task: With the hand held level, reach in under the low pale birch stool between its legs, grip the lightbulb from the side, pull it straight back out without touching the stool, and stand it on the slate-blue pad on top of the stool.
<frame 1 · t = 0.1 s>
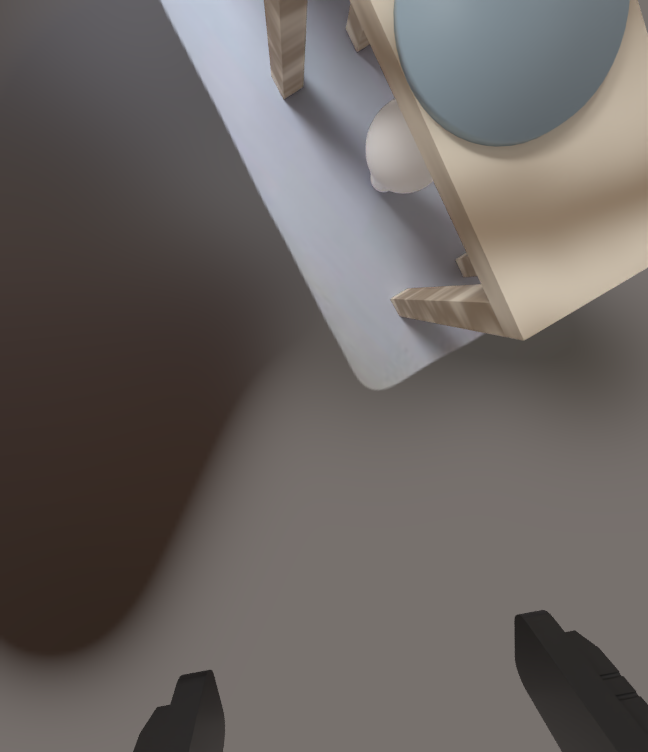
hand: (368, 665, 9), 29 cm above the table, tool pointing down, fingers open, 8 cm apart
stool: (381, 180, 34), on the table
lightbulb: (381, 180, 34), on the table
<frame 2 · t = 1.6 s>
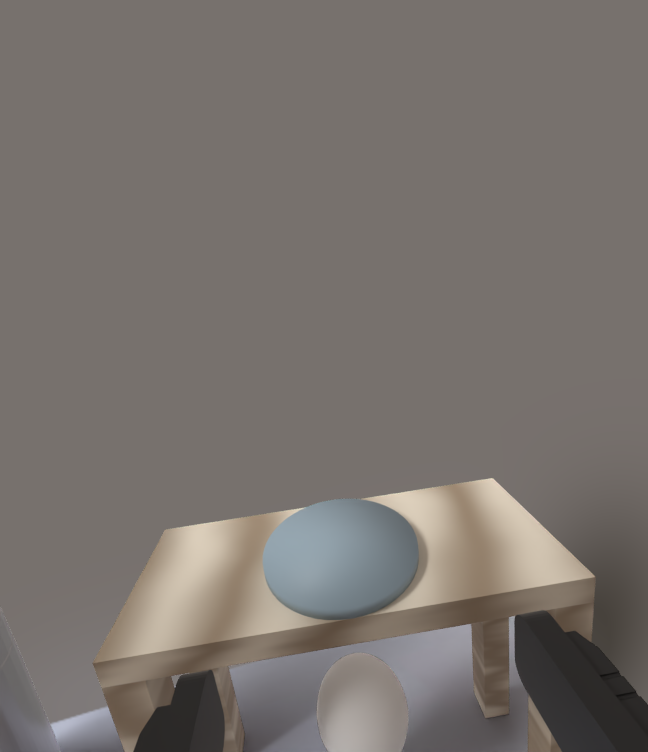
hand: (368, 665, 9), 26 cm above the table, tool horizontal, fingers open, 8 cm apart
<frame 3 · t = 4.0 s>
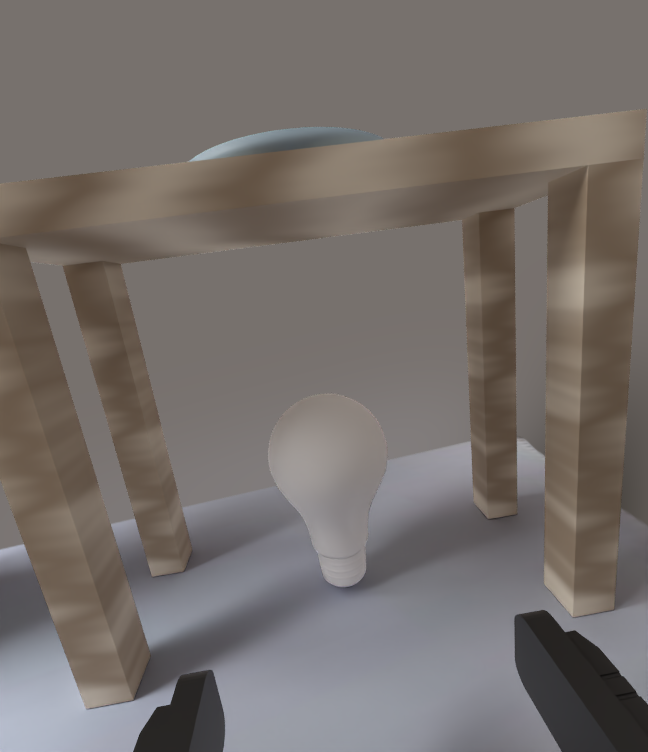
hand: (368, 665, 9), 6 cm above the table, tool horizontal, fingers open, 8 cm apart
stool: (345, 580, 21), on the table
lightbulb: (346, 583, 21), on the table
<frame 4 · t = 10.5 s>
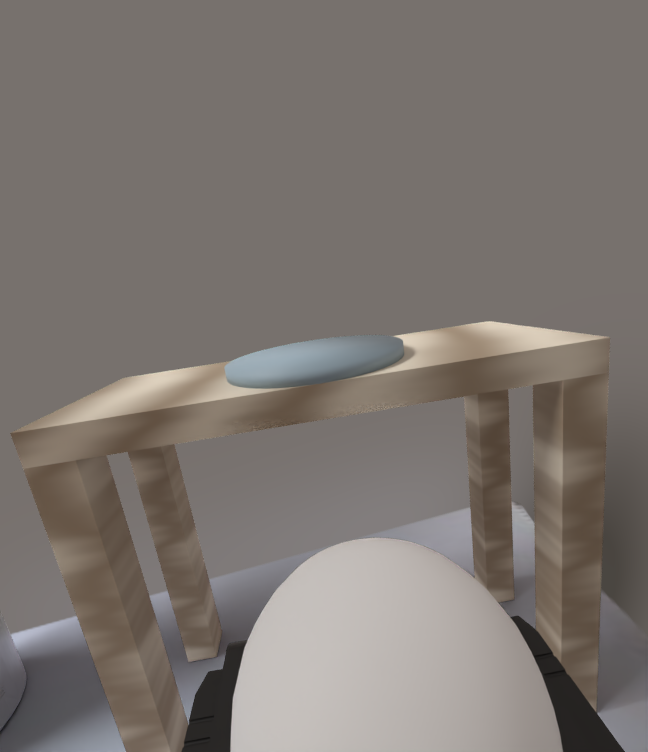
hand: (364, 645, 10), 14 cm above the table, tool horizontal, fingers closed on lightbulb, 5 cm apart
stool: (362, 672, 23), on the table
when the fingers open (29 cm above the table, at t = 14.2 s): lightbulb drops 1 cm, resting on stool.
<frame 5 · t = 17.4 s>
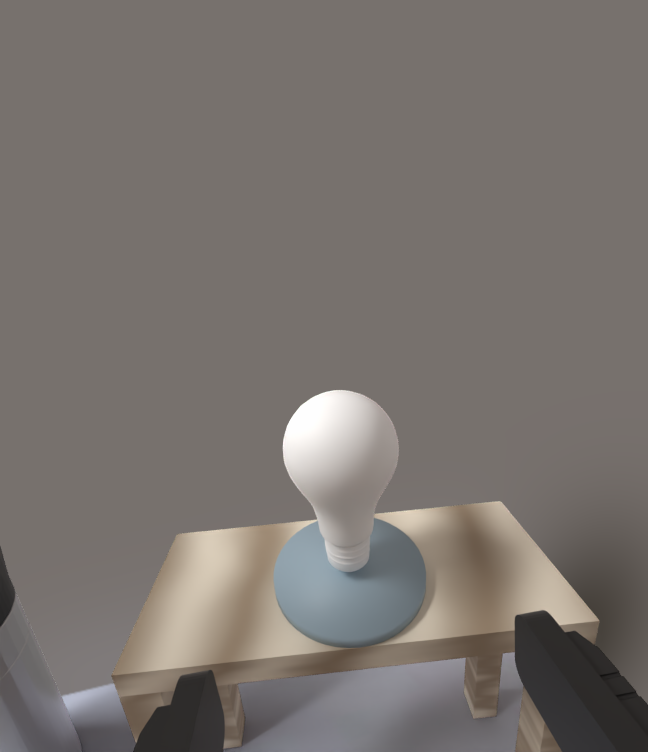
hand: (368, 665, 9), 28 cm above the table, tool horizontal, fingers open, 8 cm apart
lightbulb: (349, 567, 22), point 21 cm above the table, touching stool
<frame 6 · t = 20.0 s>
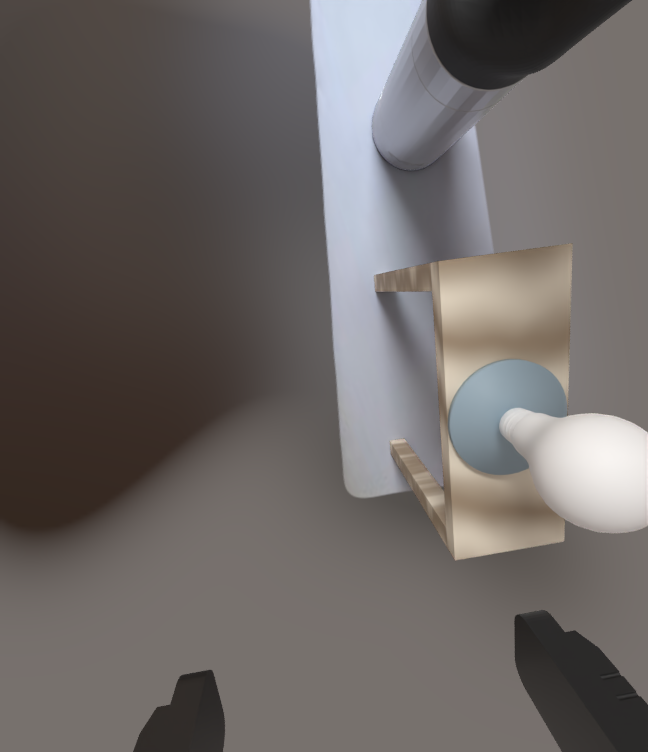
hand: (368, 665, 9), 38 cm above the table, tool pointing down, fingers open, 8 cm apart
stool: (416, 364, 48), on the table
lightbulb: (507, 419, 27), point 21 cm above the table, touching stool
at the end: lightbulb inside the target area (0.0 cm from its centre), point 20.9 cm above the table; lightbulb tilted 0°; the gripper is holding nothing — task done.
